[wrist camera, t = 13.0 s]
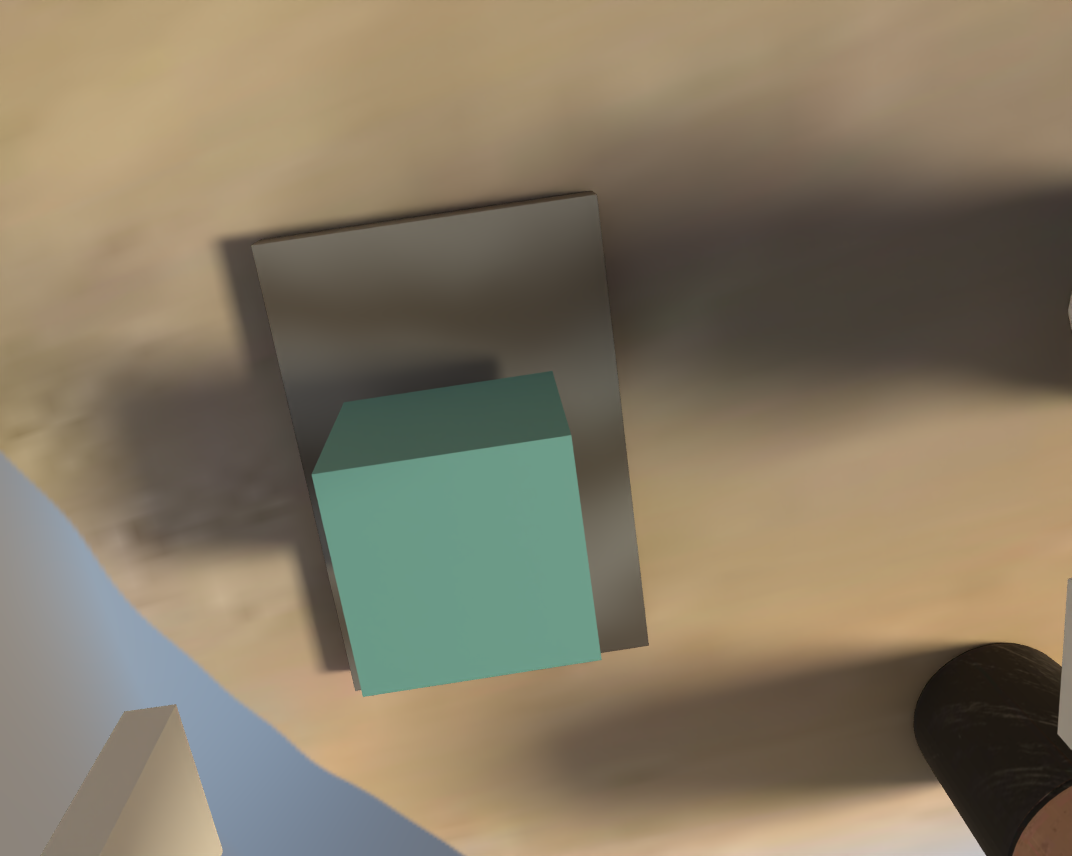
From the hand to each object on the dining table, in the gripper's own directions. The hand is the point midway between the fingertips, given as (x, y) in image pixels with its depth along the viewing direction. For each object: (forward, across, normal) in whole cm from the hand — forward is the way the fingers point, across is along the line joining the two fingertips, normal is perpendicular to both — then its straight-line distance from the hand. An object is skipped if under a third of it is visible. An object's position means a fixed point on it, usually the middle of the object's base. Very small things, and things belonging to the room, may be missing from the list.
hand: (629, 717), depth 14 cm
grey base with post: (+23, -4, -4) cm, 24 cm away
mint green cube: (+19, -4, -4) cm, 20 cm away
